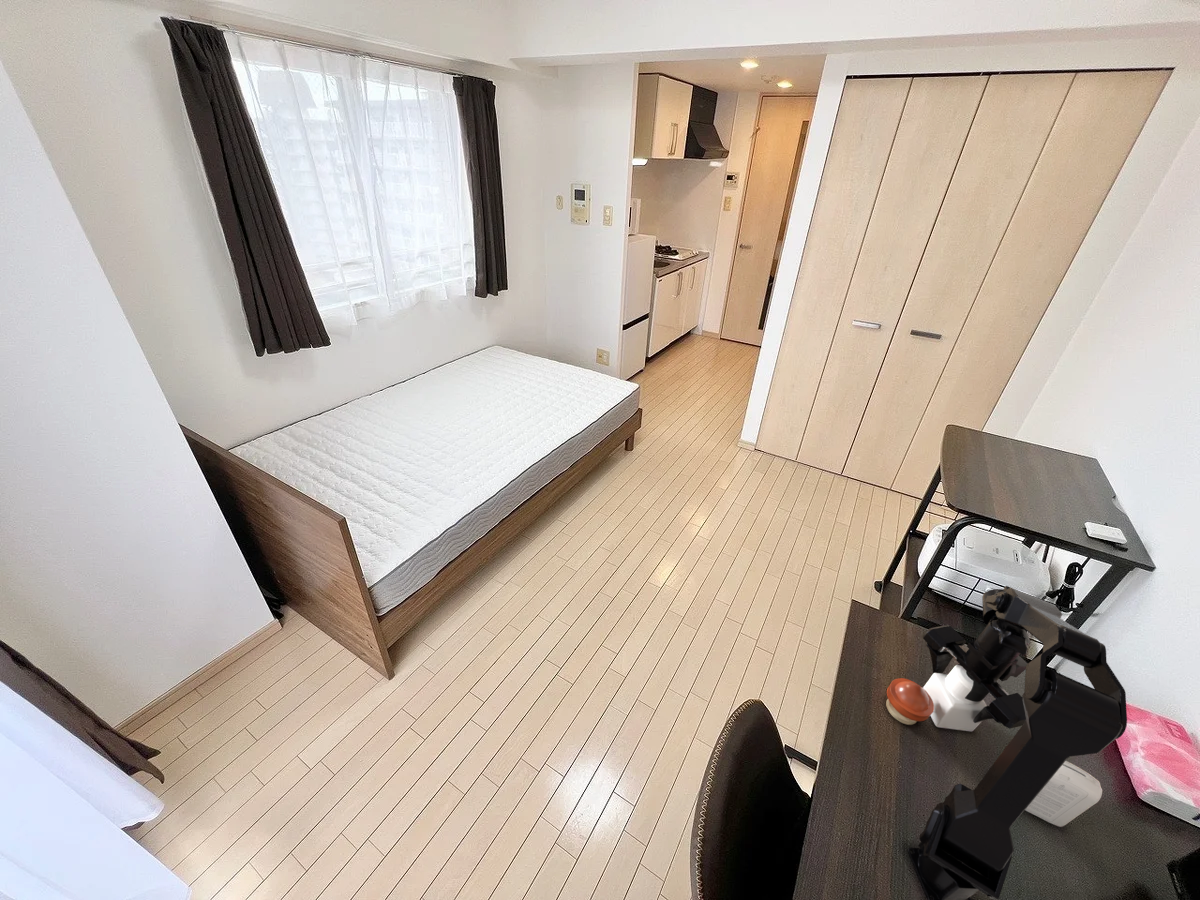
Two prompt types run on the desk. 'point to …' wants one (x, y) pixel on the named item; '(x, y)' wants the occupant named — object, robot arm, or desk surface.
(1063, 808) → the photo printer
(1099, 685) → the robot arm
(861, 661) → the desk surface
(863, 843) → the desk surface
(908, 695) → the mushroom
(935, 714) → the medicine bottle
